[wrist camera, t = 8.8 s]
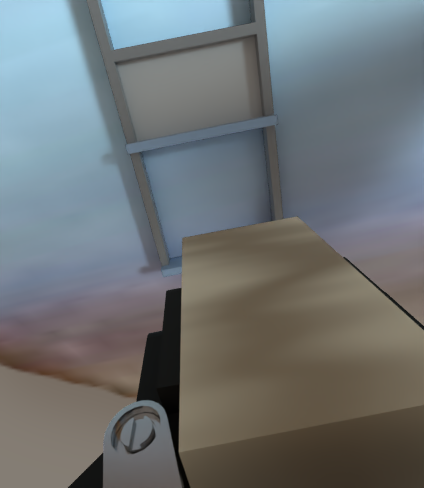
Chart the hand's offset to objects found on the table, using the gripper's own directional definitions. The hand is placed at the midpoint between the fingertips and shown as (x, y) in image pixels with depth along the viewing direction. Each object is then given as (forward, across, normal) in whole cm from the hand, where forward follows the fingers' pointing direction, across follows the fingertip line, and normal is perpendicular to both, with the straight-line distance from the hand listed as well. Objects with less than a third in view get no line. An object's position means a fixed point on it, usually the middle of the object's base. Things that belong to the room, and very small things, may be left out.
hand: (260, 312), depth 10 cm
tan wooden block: (+2, 0, 0) cm, 2 cm away
